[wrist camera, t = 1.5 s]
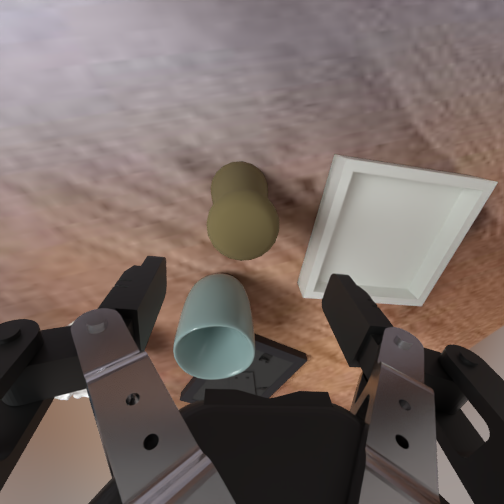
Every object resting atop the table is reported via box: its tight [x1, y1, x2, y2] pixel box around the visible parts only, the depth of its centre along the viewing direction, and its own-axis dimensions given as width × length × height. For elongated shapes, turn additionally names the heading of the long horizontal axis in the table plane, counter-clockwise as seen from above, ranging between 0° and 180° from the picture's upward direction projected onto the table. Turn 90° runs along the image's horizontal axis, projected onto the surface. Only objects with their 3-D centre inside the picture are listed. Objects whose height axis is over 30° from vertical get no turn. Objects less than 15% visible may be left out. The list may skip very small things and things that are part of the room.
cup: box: [173, 273, 255, 380], centre depth 27 cm, size 8×8×10 cm
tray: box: [297, 154, 498, 306], centre depth 28 cm, size 16×16×3 cm
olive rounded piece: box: [207, 162, 279, 261], centre depth 21 cm, size 6×6×11 cm
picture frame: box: [180, 334, 307, 403], centre depth 40 cm, size 13×2×18 cm
